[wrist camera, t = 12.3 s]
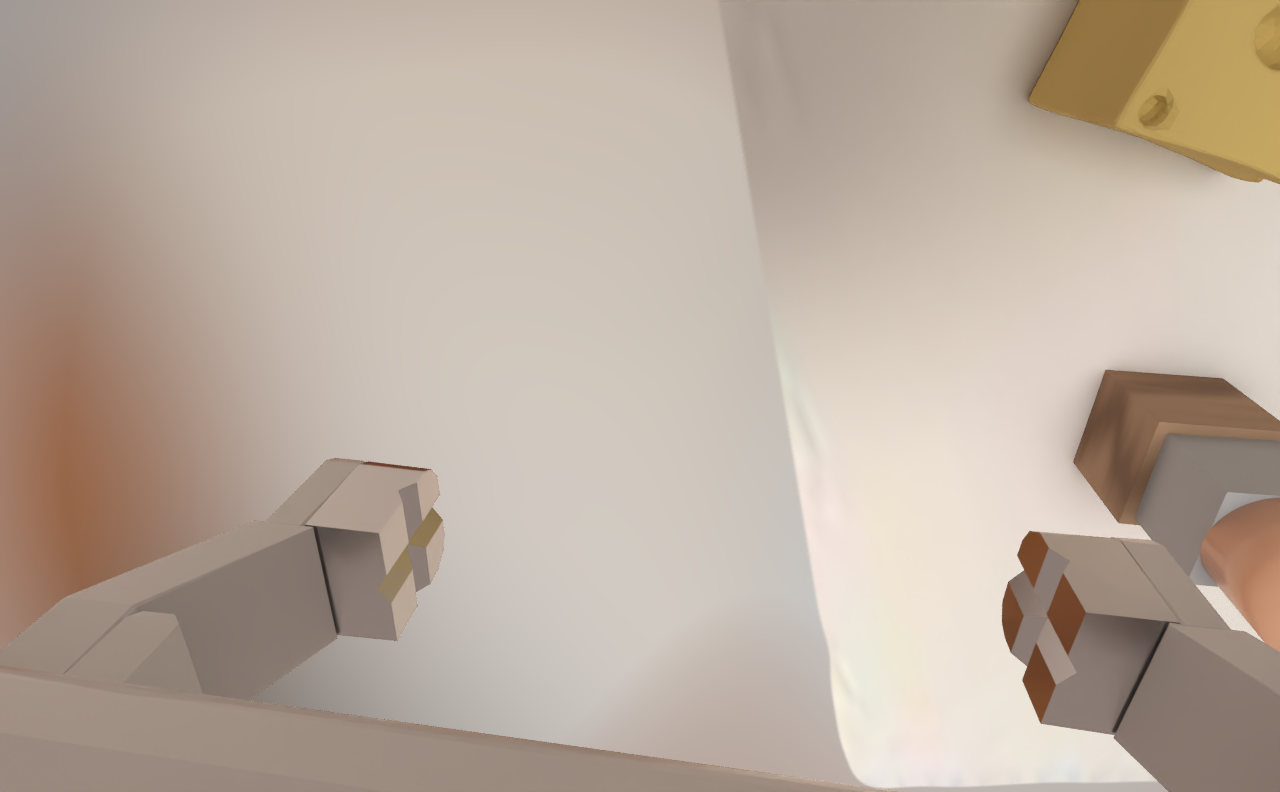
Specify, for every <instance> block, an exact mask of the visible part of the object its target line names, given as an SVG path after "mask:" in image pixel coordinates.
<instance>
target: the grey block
mask: <svg viewBox="0 0 1280 792" xmlns="http://www.w3.org/2000/svg"><path fill="white" fill-rule="evenodd" d="M1279 497H1280V441H1278V440H1263V439H1247V438H1232V437H1216V436H1201V435H1185V434H1170V433H1167V435H1166V437H1165V440H1164V442H1163V445H1162V448H1161V450H1160V453H1159V455H1158V458H1157V461H1156V463H1155V466H1154V468H1153V471H1152V474H1151V476H1150V479H1149V481H1148V484H1147V487H1146V489H1145V492H1144V494H1143V497H1142V500H1141V502H1140V505H1139V507H1138V510H1137V513H1136V515H1135V519H1136V520H1137V522H1138V523H1139V524H1140V525H1141V527H1142V528H1143V529H1144V530H1145V532H1146V533H1147V534H1148V536H1149V537H1150V538H1151V539H1152V540H1153V541H1155V542H1157V543H1159V544H1161V545H1163V546H1164V547H1165V548H1166V549H1167V551H1168V552H1169V553H1170V554H1171V556H1172V557H1173V558H1174V559H1175V561H1176V562H1177V563H1178V564H1179V566H1180V567H1181V568H1182V569H1183V571H1184V572H1185V573H1186V574H1187V576H1188V577H1189V578H1190V579H1191V581H1192V582H1193V583H1194V584H1195V585H1206V586H1217V584H1216V583H1215V582H1214V581H1213V580H1212V578H1211V577H1210V576H1209V575H1208V574H1207V572H1206V571H1205V569H1204V568H1203V565H1202V563H1201V558H1200V550H1201V545H1202V542H1203V540H1204V538H1205V536H1206V534H1207V533H1208V531H1209V530H1210V529H1211V528H1212V527H1213V526H1214V525H1215V524H1216V523H1217V522H1218V521H1219V520H1220V519H1221V518H1222V517H1224V516H1225V515H1227V514H1228V513H1230V512H1231V511H1233V510H1235V509H1237V508H1239V507H1241V506H1244V505H1246V504H1249V503H1252V502H1255V501H1259V500H1263V499H1269V498H1279ZM1217 587H1218V586H1217Z"/></svg>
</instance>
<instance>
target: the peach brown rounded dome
mask: <svg viewBox="0 0 1280 792" xmlns="http://www.w3.org/2000/svg"><path fill="white" fill-rule="evenodd" d="M1200 558H1201V563H1202V565H1203V568H1204V569H1205V571H1206V572H1207V574H1208V575H1209V576H1210V577H1211V578H1212V580H1213V581H1214V582H1215V583H1216V584H1217V586H1218V587H1219V588H1220V589H1221V590H1222V592H1223V593H1224V594H1225V595H1226V596H1227V598H1228V599H1229V600H1230V601H1231V602H1232V604H1233V605H1234V606H1235V607H1236V608H1237V610H1238V611H1239V612H1240V613H1241V614H1242V616H1243V617H1244V618H1245V619H1246V621H1247V622H1248V623H1249V624H1250V625H1251V627H1252V628H1253V629H1254V630H1255V631H1256V633H1257V634H1258V635H1259V636H1260V637H1261V639H1262V640H1263V641H1264V642H1265V643H1266V644H1267V645H1269V646H1271V647H1272V648H1274V649H1276V650H1277V651H1279V652H1280V497H1279V498H1269V499H1263V500H1259V501H1255V502H1252V503H1249V504H1246V505H1244V506H1241V507H1239V508H1237V509H1235V510H1233V511H1231V512H1230V513H1228V514H1227V515H1225V516H1224V517H1222V518H1221V519H1220V520H1219V521H1218V522H1217V523H1216V524H1215V525H1214V526H1213V527H1212V528H1211V529H1210V530H1209V531H1208V533H1207V534H1206V536H1205V538H1204V540H1203V542H1202V545H1201V550H1200Z"/></svg>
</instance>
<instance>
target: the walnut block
mask: <svg viewBox="0 0 1280 792" xmlns="http://www.w3.org/2000/svg"><path fill="white" fill-rule="evenodd" d="M1167 433H1170V434H1185V435H1201V436H1216V437H1232V438H1247V439H1263V440H1278V441H1280V421H1279V420H1278V419H1276V418H1275V417H1274V416H1272V415H1271V414H1270V413H1268V412H1267V411H1266V410H1264V409H1263V408H1262V407H1260V406H1259V405H1258V404H1256V403H1255V402H1254V401H1252V400H1251V399H1250V398H1248V397H1247V396H1246V395H1244V394H1243V393H1242V392H1240V391H1239V390H1237V389H1236V388H1235V387H1233V386H1232V385H1231V384H1229V383H1228V382H1227V381H1225V380H1224V379H1222V378H1208V377H1195V376H1181V375H1168V374H1154V373H1141V372H1127V371H1114V370H1105V373H1104V376H1103V379H1102V382H1101V385H1100V387H1099V390H1098V393H1097V396H1096V399H1095V402H1094V405H1093V407H1092V410H1091V413H1090V416H1089V419H1088V422H1087V425H1086V427H1085V430H1084V433H1083V436H1082V439H1081V442H1080V444H1079V447H1078V450H1077V453H1076V456H1075V459H1074V464H1075V465H1076V466H1077V468H1078V469H1079V470H1080V472H1081V473H1082V474H1083V476H1084V477H1085V478H1086V480H1087V481H1088V482H1089V484H1090V485H1091V487H1092V488H1093V489H1094V491H1095V492H1096V493H1097V495H1098V496H1099V497H1100V499H1101V500H1102V501H1103V503H1104V504H1105V505H1106V507H1107V508H1108V509H1109V511H1110V512H1111V514H1112V515H1113V516H1114V518H1115V519H1116V520H1117V522H1118V523H1123V524H1134V525H1140V524H1139V523H1138V522H1137V520H1136V519H1135V515H1136V513H1137V510H1138V507H1139V505H1140V502H1141V500H1142V497H1143V494H1144V492H1145V489H1146V487H1147V484H1148V481H1149V479H1150V476H1151V474H1152V471H1153V468H1154V466H1155V463H1156V461H1157V458H1158V455H1159V453H1160V450H1161V448H1162V445H1163V442H1164V440H1165V437H1166V435H1167Z"/></svg>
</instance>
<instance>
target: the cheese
mask: <svg viewBox="0 0 1280 792" xmlns="http://www.w3.org/2000/svg"><path fill="white" fill-rule="evenodd" d="M1029 102H1030V103H1031V104H1032V105H1035V106H1037V107H1040V108H1042V109H1045V110H1047V111H1050V112H1053V113H1057V114H1060V115H1064V116H1068V117H1072V118H1076V119H1079V120H1083V121H1086V122H1089V123H1093V124H1096V125H1100V126H1104V127H1107V128H1111V129H1114V130H1118V131H1121V132H1124V133H1128V134H1131V135H1134V136H1137V137H1140V138H1143V139H1146V140H1148V141H1151V142H1153V143H1155V144H1157V145H1160V146H1162V147H1164V148H1167V149H1170V150H1172V151H1175V152H1178V153H1180V154H1182V155H1185V156H1187V157H1189V158H1192V159H1194V160H1196V161H1198V162H1200V163H1202V164H1204V165H1207V166H1209V167H1211V168H1213V169H1215V170H1217V171H1219V172H1221V173H1223V174H1226V175H1228V176H1230V177H1233V178H1237V179H1240V180H1244V181H1250V182H1258V183H1259V182H1260V181H1262V180H1263V179H1267V180H1270V181H1272V182H1275V183H1278V184H1280V0H1079V2H1078V4H1077V6H1076V9H1075V10H1074V12H1073V14H1072V16H1071V18H1070V20H1069V22H1068V24H1067V26H1066V28H1065V30H1064V32H1063V34H1062V36H1061V38H1060V40H1059V42H1058V44H1057V46H1056V48H1055V49H1054V51H1053V53H1052V55H1051V57H1050V59H1049V61H1048V63H1047V65H1046V66H1045V68H1044V70H1043V72H1042V74H1041V76H1040V78H1039V80H1038V82H1037V83H1036V85H1035V87H1034V89H1033V91H1032V93H1031V95H1030V97H1029Z"/></svg>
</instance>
